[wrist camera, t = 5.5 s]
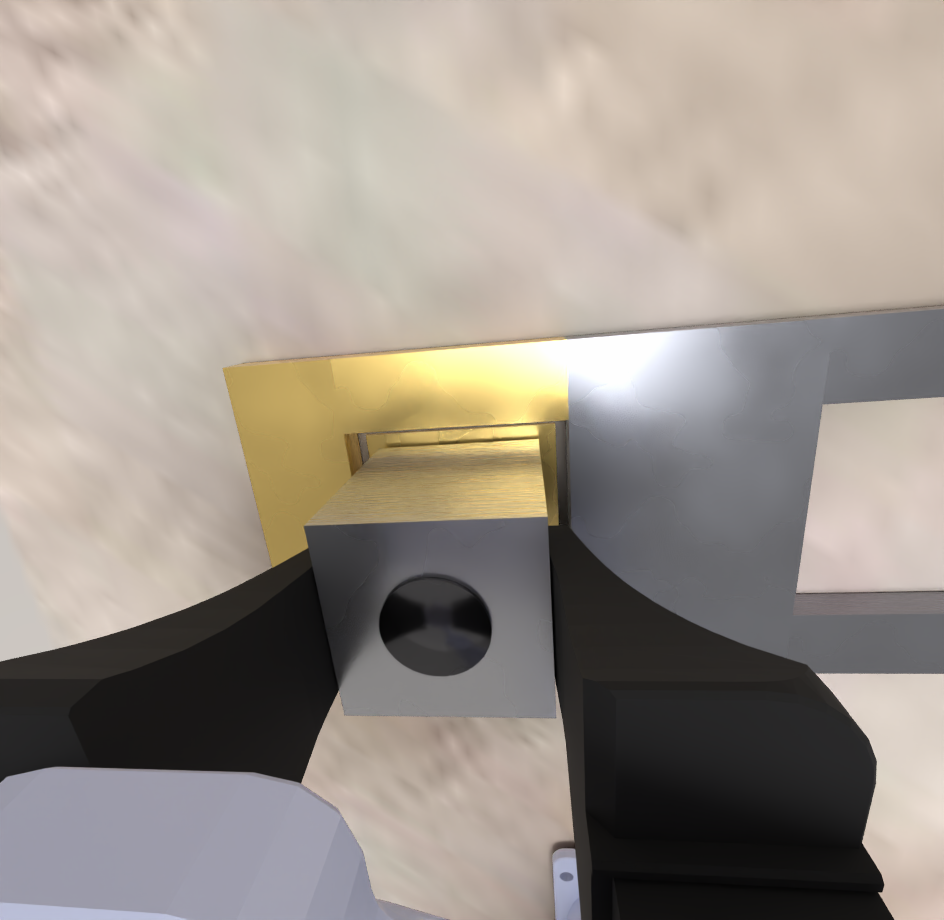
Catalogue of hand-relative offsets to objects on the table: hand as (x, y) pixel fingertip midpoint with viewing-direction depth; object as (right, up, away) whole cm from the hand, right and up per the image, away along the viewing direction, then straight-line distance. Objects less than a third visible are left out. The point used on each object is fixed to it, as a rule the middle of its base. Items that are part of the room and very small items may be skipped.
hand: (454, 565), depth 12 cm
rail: (+6, +1, +2) cm, 7 cm away
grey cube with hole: (0, +1, +2) cm, 3 cm away
